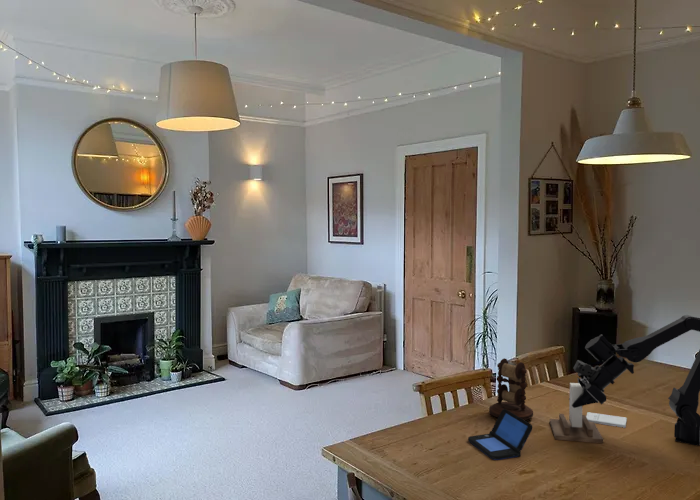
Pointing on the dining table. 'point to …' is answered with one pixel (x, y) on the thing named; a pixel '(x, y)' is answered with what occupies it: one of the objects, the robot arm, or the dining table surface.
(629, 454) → the dining table surface
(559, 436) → the rack
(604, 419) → the external hard drive
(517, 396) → the wooden spool holder
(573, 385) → the cream rectangular block
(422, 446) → the dining table surface
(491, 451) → the handheld game console
